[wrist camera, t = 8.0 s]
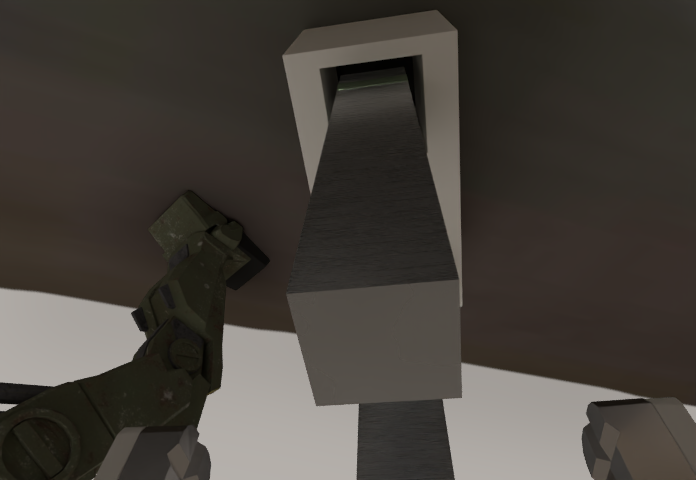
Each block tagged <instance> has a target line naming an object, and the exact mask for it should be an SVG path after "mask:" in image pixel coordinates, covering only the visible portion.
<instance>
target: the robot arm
mask: <svg viewBox="0 0 696 480" xmlns="http://www.w3.org/2000/svg"><path fill="white" fill-rule="evenodd" d="M586 414H587V417H588V419H589V421H590V423H589V424H588V425H587V426H585V427H584V428H583V434H582V446H583V453H584V456H585V460H586V464H587V467H588V469H589V472H590V474H591V477H592V478H593V479H594V480H696V423H695V422H694V420H693V419H692V418H691V416H690V414H689V413H688V411H687V410H686V409H685V407H684V406H683V404H682V403H681V402H680V401H679V400H678V399H676V398H674V397H666V398H653V399H643V398H639V399H625V400H612V401H597V402H591V403H590V404H589V405H588V408H587V412H586ZM198 437H199V433H198V431H197V429H196V428H195V426H194V425H175V426H144V427H125V428H124V429H123V430H121V431H120V432H119V433H118V434H117V436H116V438H115V440H114V442H113V444H112V446H111V448H110V449H109V451H108V453H107V455H106V457H105V459H104V461H103V463H102V465H101V467H100V469H99V471H98V473H97V475H96V476H95V478H94V480H209V479H210V469H211V461H210V456H209V452H208V450H207V448H206V447H205V446H204V445H202V444H200V443H199V442H197V439H198Z"/></svg>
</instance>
